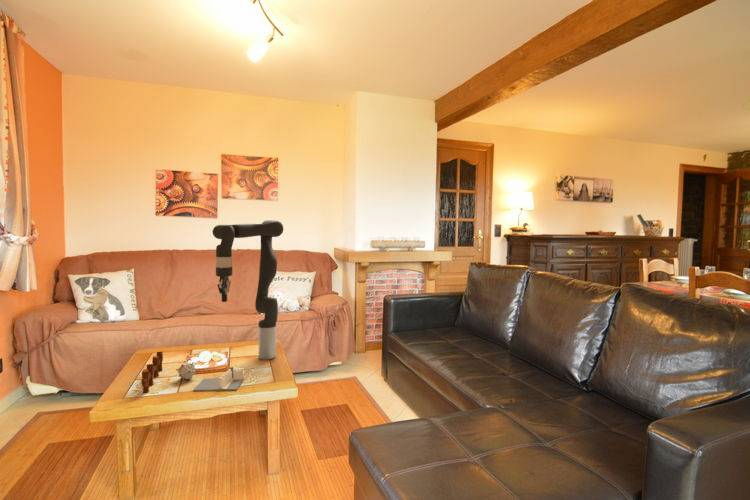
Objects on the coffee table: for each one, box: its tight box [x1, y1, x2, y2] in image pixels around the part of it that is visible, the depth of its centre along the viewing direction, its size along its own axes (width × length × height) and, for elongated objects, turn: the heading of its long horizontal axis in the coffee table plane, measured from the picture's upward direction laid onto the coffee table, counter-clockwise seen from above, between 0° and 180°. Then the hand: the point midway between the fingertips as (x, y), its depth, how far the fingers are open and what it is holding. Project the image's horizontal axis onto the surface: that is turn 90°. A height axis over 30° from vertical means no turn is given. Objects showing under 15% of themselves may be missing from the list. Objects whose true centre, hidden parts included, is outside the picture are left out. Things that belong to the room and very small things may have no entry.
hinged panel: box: [218, 366, 234, 388], centre depth 176 cm, size 13×1×5 cm, turn 177°
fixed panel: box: [233, 367, 245, 380], centre depth 182 cm, size 4×1×5 cm, turn 94°
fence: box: [140, 351, 164, 394], centre depth 181 cm, size 34×3×10 cm, turn 17°
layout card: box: [192, 377, 245, 392], centre depth 176 cm, size 13×18×1 cm
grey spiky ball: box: [175, 360, 199, 382], centre depth 182 cm, size 9×8×10 cm
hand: (224, 301), depth 190 cm, fingers closed
